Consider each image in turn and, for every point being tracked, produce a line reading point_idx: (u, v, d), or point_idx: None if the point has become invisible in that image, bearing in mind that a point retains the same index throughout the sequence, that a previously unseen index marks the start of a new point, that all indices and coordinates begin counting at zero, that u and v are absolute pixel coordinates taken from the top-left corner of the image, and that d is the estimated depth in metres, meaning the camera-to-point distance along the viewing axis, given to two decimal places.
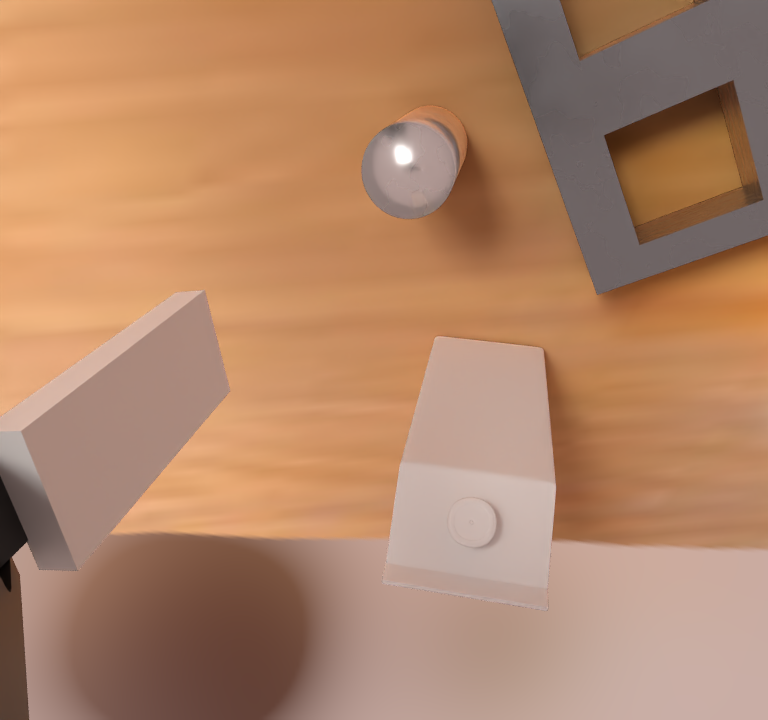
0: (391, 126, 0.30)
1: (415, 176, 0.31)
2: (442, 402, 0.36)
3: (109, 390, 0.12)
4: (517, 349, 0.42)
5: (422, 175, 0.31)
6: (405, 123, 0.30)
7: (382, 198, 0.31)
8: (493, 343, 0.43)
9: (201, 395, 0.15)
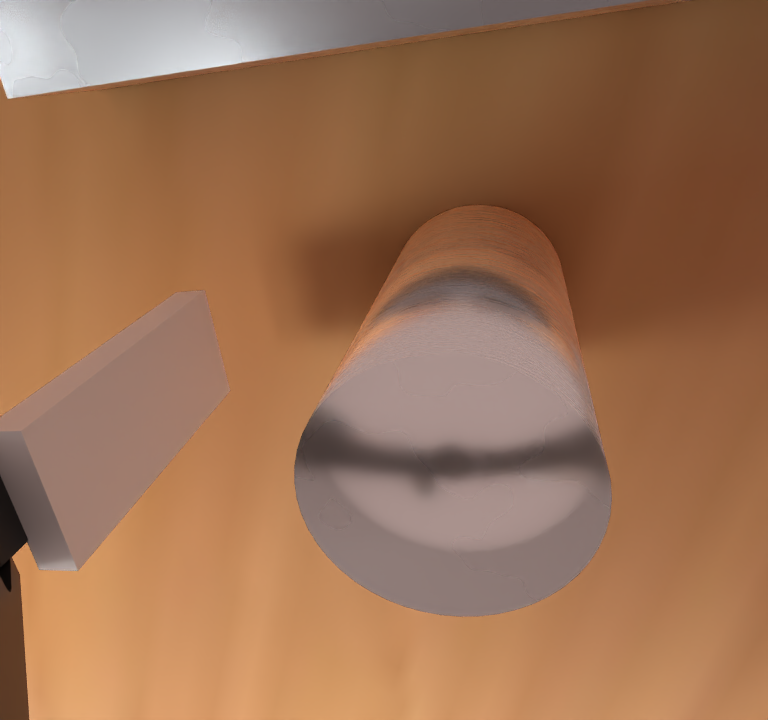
0: (298, 489, 0.10)
1: (468, 480, 0.09)
2: None
3: (109, 390, 0.12)
4: None
5: (473, 463, 0.09)
6: (300, 451, 0.09)
7: (499, 588, 0.10)
8: None
9: (201, 395, 0.15)
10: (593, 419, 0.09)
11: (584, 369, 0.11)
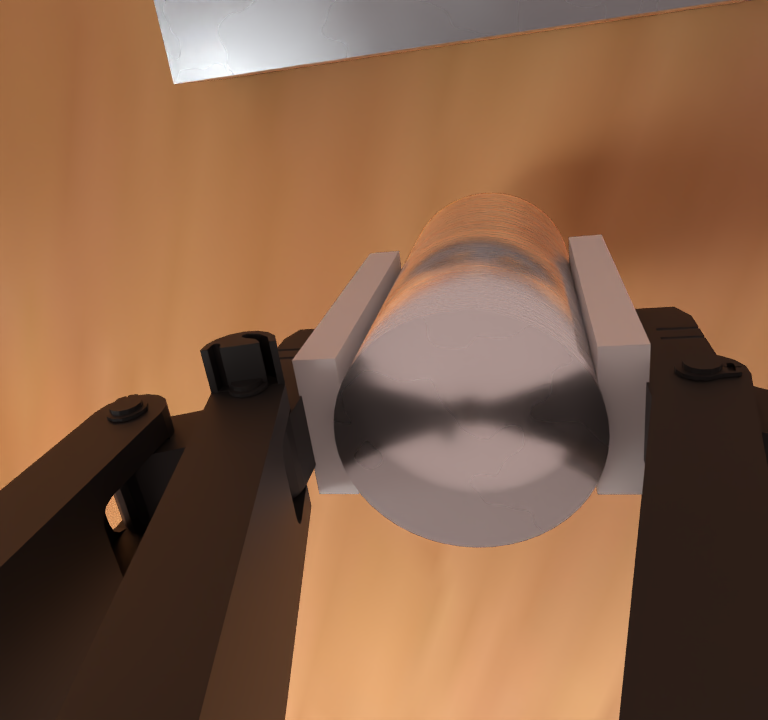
0: (337, 432, 0.11)
1: (485, 423, 0.10)
2: None
3: (366, 332, 0.13)
4: None
5: (490, 407, 0.10)
6: (339, 398, 0.11)
7: (511, 520, 0.11)
8: None
9: None
10: (594, 370, 0.10)
11: None
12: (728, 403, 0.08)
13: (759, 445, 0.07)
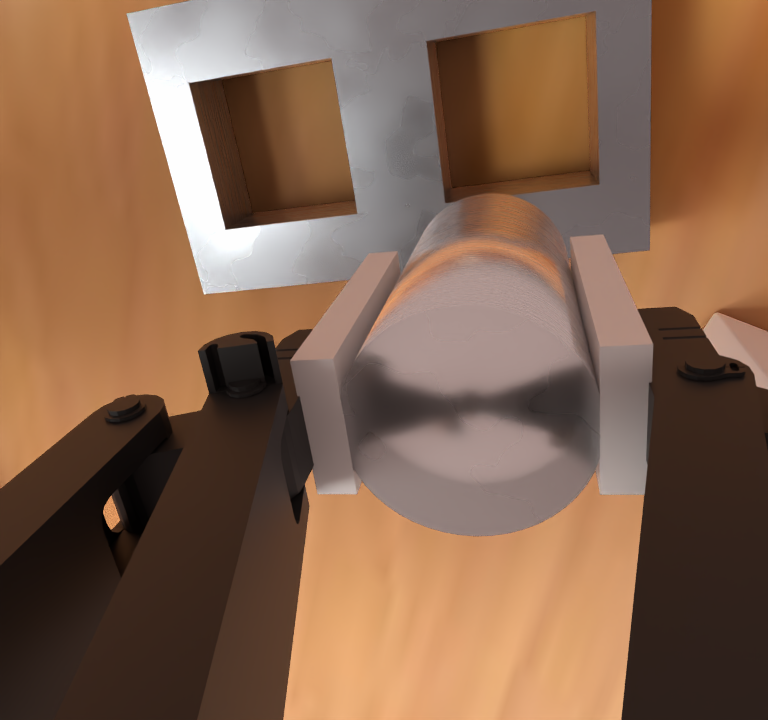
0: None
1: (485, 414, 0.11)
2: None
3: (364, 333, 0.13)
4: None
5: (489, 400, 0.11)
6: (344, 391, 0.11)
7: (510, 510, 0.11)
8: None
9: None
10: (590, 364, 0.11)
11: (584, 329, 0.13)
12: (731, 403, 0.08)
13: (762, 445, 0.07)
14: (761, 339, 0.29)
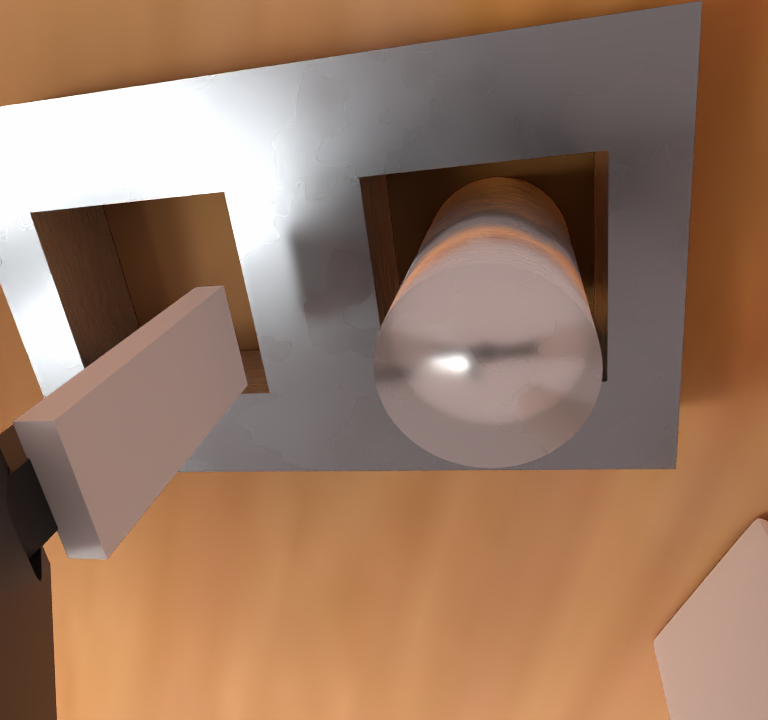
0: (375, 369, 0.13)
1: (499, 359, 0.13)
2: None
3: (135, 382, 0.12)
4: (736, 564, 0.23)
5: (504, 345, 0.12)
6: (378, 340, 0.13)
7: (520, 444, 0.13)
8: (707, 582, 0.24)
9: (221, 389, 0.15)
10: (590, 316, 0.13)
11: (584, 291, 0.14)
12: None
13: None
14: None
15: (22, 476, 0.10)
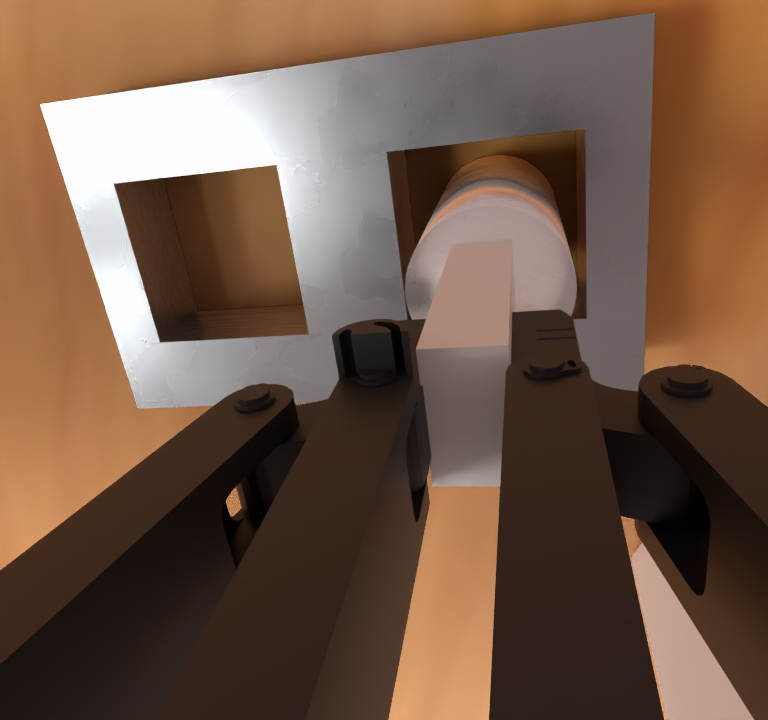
0: (407, 291, 0.17)
1: None
2: (690, 714, 0.22)
3: None
4: None
5: None
6: (409, 267, 0.17)
7: None
8: None
9: None
10: (568, 247, 0.17)
11: (565, 235, 0.19)
12: (571, 397, 0.09)
13: (599, 434, 0.08)
14: None
15: (421, 401, 0.11)
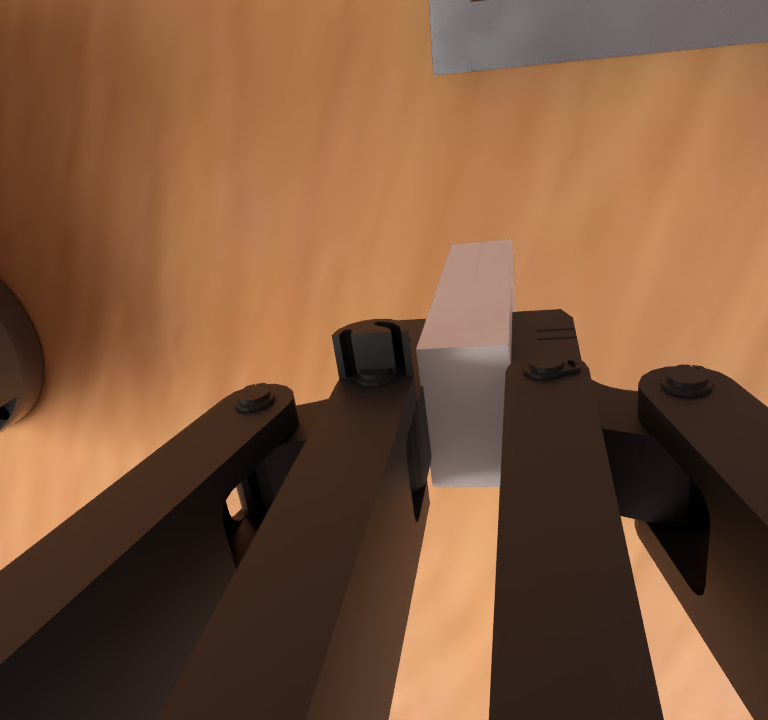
0: None
1: None
2: None
3: None
4: None
5: None
6: None
7: None
8: None
9: None
10: None
11: None
12: (571, 397, 0.09)
13: (599, 434, 0.08)
14: None
15: (421, 401, 0.11)
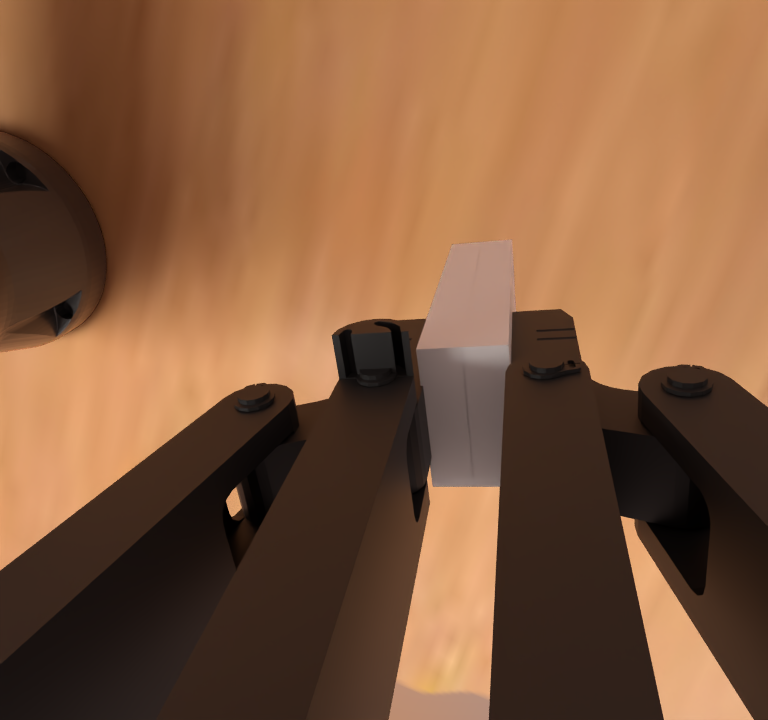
0: None
1: None
2: None
3: None
4: None
5: None
6: None
7: None
8: None
9: None
10: None
11: None
12: (571, 398, 0.09)
13: (599, 434, 0.08)
14: None
15: (421, 401, 0.11)
